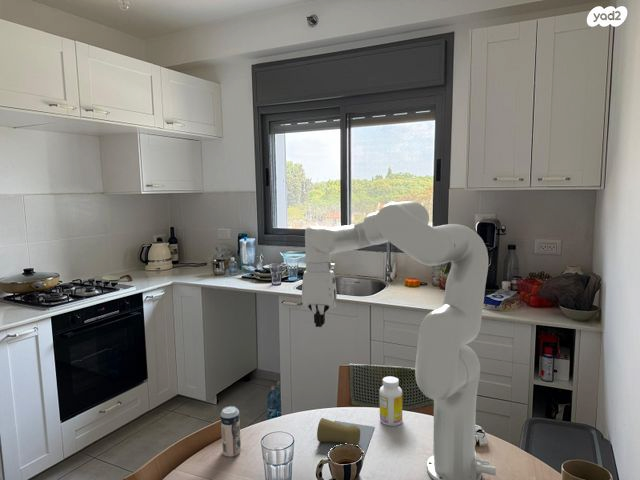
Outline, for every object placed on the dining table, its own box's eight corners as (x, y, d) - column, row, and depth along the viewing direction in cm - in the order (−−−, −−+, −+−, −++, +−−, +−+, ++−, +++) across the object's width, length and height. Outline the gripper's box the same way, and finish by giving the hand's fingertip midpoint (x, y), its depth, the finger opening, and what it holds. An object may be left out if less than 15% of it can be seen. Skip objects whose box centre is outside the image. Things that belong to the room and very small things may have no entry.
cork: (320, 444, 119) (359, 451, 115) (315, 438, 114) (355, 445, 110) (325, 421, 122) (363, 428, 118) (320, 414, 118) (359, 421, 114)
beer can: (239, 457, 111) (237, 413, 110) (221, 458, 111) (219, 415, 110) (242, 446, 116) (240, 404, 115) (224, 447, 116) (222, 405, 114)
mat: (374, 427, 124) (374, 426, 124) (362, 461, 109) (362, 460, 109) (334, 421, 128) (334, 420, 127) (317, 453, 112) (317, 452, 112)
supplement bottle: (402, 416, 130) (402, 375, 128) (402, 428, 123) (401, 385, 122) (380, 414, 131) (380, 373, 130) (378, 425, 125) (378, 383, 123)
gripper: (345, 265, 131) (346, 323, 133) (299, 264, 136) (301, 320, 138) (338, 270, 124) (339, 331, 126) (290, 268, 129) (292, 327, 131)
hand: (319, 325), depth 132 cm, fingers closed
